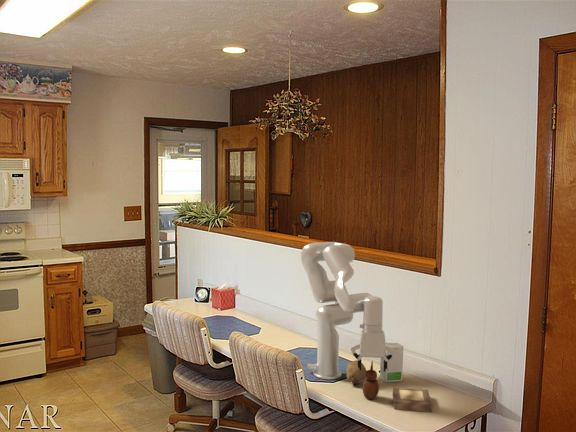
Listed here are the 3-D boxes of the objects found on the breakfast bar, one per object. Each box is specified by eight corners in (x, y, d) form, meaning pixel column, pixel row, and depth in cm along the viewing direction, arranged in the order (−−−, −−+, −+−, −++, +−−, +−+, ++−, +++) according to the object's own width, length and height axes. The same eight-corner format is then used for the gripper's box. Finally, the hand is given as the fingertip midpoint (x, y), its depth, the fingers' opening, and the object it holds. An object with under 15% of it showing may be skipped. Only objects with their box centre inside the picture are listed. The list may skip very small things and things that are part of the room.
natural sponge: (368, 381, 237) (369, 359, 236) (364, 388, 228) (365, 365, 228) (348, 378, 240) (348, 356, 239) (343, 385, 232) (344, 362, 231)
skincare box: (385, 382, 236) (386, 347, 234) (378, 377, 242) (380, 343, 241) (403, 381, 238) (404, 346, 237) (396, 375, 244) (397, 341, 243)
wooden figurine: (368, 393, 224) (369, 357, 223) (380, 397, 220) (382, 361, 219) (359, 398, 219) (360, 362, 218) (372, 402, 215) (373, 365, 214)
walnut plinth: (394, 408, 209) (394, 400, 209) (392, 394, 223) (392, 386, 223) (431, 411, 207) (431, 403, 207) (427, 397, 221) (427, 389, 221)
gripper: (350, 329, 215) (350, 372, 216) (395, 331, 212) (394, 374, 213) (351, 324, 222) (351, 365, 223) (394, 326, 220) (393, 367, 220)
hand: (372, 369), depth 218 cm, fingers open, 9 cm apart
